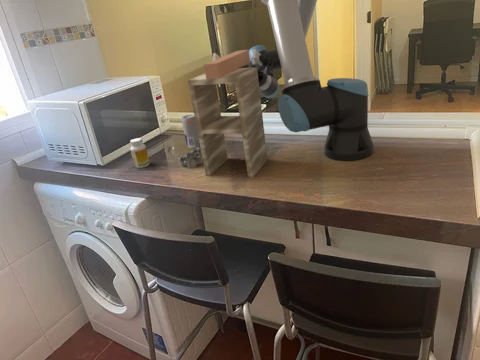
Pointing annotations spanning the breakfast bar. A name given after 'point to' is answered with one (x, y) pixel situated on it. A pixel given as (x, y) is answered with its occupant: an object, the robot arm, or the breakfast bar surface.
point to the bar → (226, 64)
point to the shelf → (229, 119)
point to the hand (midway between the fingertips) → (233, 55)
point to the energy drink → (190, 131)
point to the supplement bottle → (139, 153)
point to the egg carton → (191, 158)
